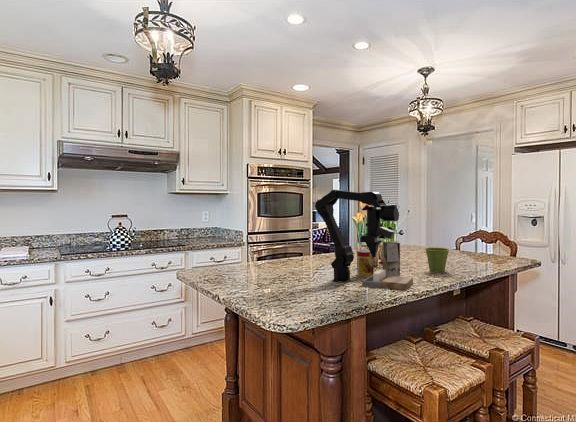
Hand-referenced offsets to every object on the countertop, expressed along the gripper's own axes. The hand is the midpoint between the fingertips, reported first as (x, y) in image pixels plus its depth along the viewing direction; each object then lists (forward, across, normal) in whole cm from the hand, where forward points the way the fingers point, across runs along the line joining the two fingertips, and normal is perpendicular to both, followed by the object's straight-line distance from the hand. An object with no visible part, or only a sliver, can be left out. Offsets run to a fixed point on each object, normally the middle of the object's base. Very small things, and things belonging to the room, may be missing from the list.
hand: (374, 257), depth 156 cm
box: (+12, +4, 0) cm, 13 cm away
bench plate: (+12, +4, -9) cm, 15 cm away
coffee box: (+12, +24, -1) cm, 27 cm away
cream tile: (+9, +4, -2) cm, 10 cm away
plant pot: (+12, +44, -19) cm, 49 cm away
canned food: (+12, +18, +10) cm, 24 cm away
